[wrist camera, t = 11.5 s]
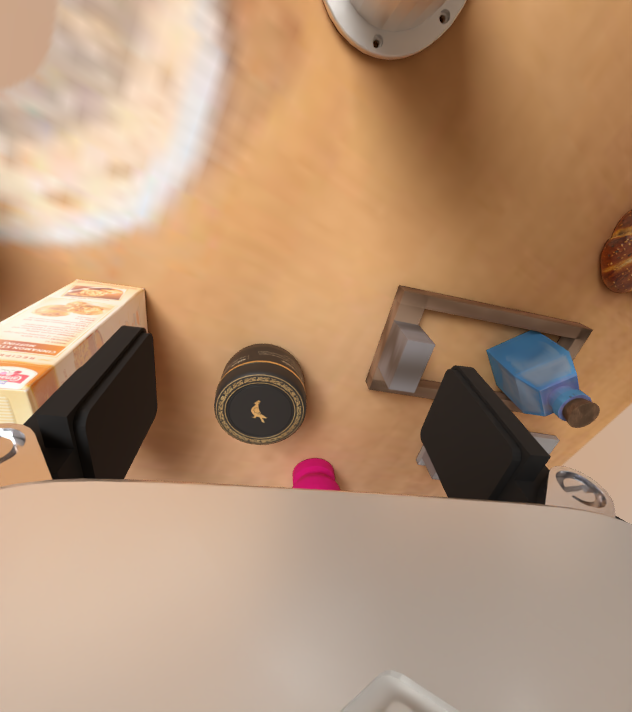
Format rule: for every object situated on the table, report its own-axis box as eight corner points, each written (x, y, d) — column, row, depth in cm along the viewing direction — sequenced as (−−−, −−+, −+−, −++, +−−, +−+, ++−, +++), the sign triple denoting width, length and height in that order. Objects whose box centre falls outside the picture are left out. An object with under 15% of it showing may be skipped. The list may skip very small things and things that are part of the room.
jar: (258, 418, 47) (253, 460, 40) (206, 367, 42) (191, 405, 36) (319, 380, 44) (325, 418, 38) (270, 323, 40) (268, 354, 33)
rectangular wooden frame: (399, 285, 39) (420, 307, 33) (580, 323, 43) (629, 349, 37) (365, 380, 45) (378, 414, 39) (528, 406, 49) (562, 440, 43)
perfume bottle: (541, 365, 46) (616, 423, 36) (496, 384, 47) (557, 447, 37) (533, 328, 43) (613, 380, 33) (486, 350, 44) (548, 406, 34)
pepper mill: (314, 447, 50) (330, 598, 32) (346, 471, 53) (377, 622, 35) (279, 474, 52) (277, 630, 34) (312, 495, 55) (325, 649, 37)
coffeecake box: (74, 277, 36) (-116, 378, 19) (147, 286, 37) (29, 390, 20) (94, 395, 43) (-32, 546, 26) (154, 400, 44) (72, 548, 27)
